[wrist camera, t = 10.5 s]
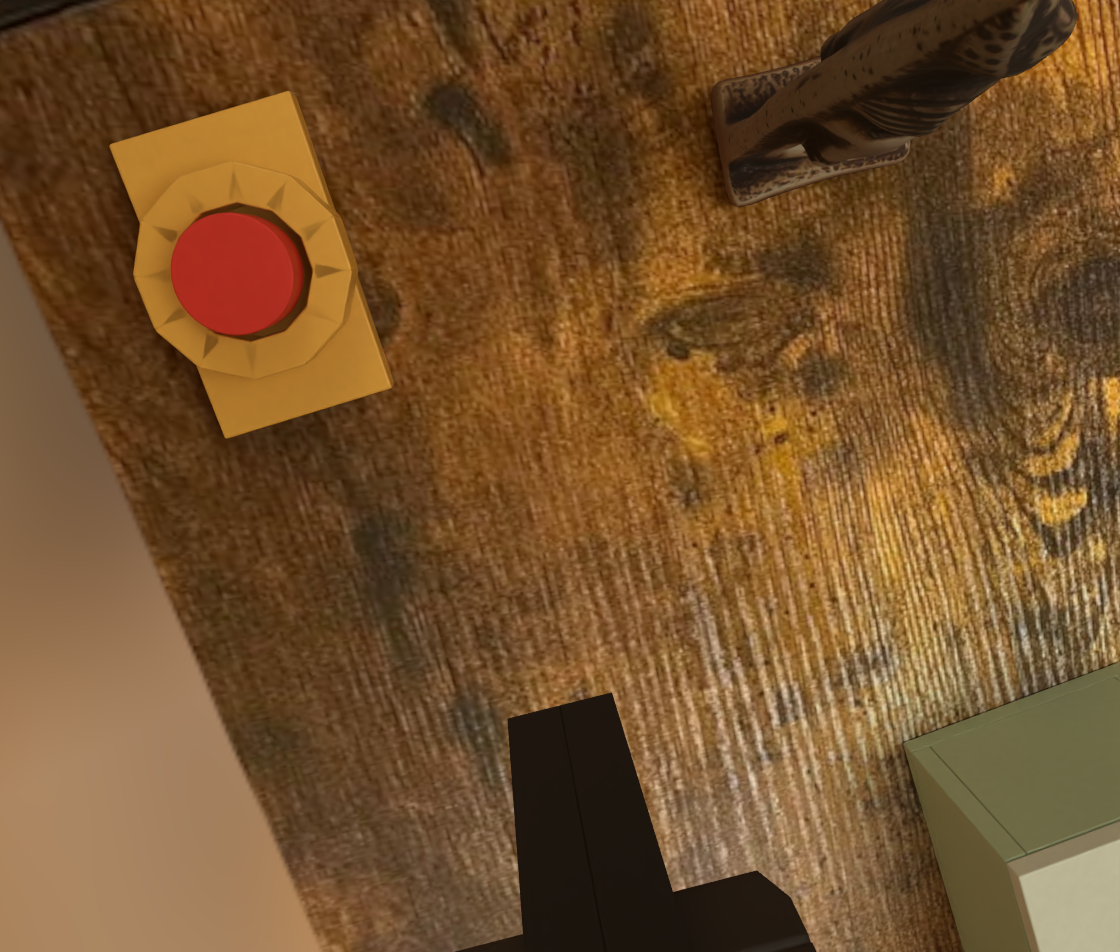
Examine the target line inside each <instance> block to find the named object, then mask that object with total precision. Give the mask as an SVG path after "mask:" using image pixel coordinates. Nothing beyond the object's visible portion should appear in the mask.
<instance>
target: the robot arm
mask: <svg viewBox="0 0 1120 952" xmlns="http://www.w3.org/2000/svg"><path fill="white" fill-rule="evenodd" d="M508 733H509V746H510V760H511V774H512V788H513V801H514V815H515V829H516V843H517V857H518V870H519V884H520V898H521V912H522V926H523V934H522V935H518V936H514V937H510V938H506V939H502V940H499V941H495V942H491V943H487V944H483V945H479V946H475V947H471V948H468V949H464V950H460V951H456V952H816V950H815V947H814V945H813V943H811V942H810V939H809V935H808V933H807V931H806V929H805V927H804V925H803V923H802V921H801V918H800V916H799V914H798V912H797V910H796V908H795V906H794V904H793V902H792V900H791V898H790V897H789V896H788V895H787V894H786V893H784V892H783V891H782V890H781V889H779V888H778V887H777V886H776V885H774V884H773V883H772V882H771V881H769V880H768V879H767V878H766V877H764V876H763V875H762V874H761V873H759V872H758V871H753V872H749V873H745V874H741V875H737V876H733V877H730V878H726V879H722V880H718V881H714V882H710V883H706V884H702V885H699V886H695V887H691V888H687V889H683V890H679V891H675V892H673V891H672V887H671V884H670V881H669V878H668V874H667V871H666V868H665V865H664V861H663V858H662V855H661V852H660V848H659V845H658V842H657V838H656V835H655V832H654V829H653V825H652V822H651V819H650V816H649V812H648V809H647V806H646V803H645V799H644V796H643V793H642V789H641V786H640V783H639V780H638V776H637V773H636V770H635V767H634V763H633V760H632V757H631V754H630V750H629V747H628V744H627V740H626V737H625V734H624V731H623V727H622V724H621V721H620V718H619V714H618V711H617V708H616V705H615V701H614V698H613V695H612V693H608V694H604V695H600V696H596V697H592V698H588V699H584V700H580V701H576V702H572V703H568V704H564V705H560V706H556V707H552V708H548V709H544V710H540V711H536V712H532V713H528V714H524V715H520V716H516V717H512V718H508Z"/></svg>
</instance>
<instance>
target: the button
mask: <svg viewBox="0 0 1120 952" xmlns="http://www.w3.org/2000/svg"><path fill="white" fill-rule="evenodd" d="M170 269H171V280H172V285H173V288H174V291H175V294H176V296H177V298H178V300H179V302H180V303H181V305H182V306H183V308H184V309H185V310H186V311H187V313H188V314H189V315H190V316H191V317H192V318H193V319H195V320H196V321H197V322H199V323H200V324H201V325H203V326H205V327H206V328H208V329H211V330H213V331H215V332H219V333H222V334H227V335H248V334H252V333H256V332H258V331H261V330H264V329H266V328H268V327H271V326H273V325H275V324H277V323H278V322H280V321H281V320H283V319H284V318H285V317H286V316H287V315H288V314H289V313H290V312H291V311H292V310H293V308H294V307H295V305H296V304H297V302H298V300H299V297H300V295H301V292H302V288H303V280H304V275H303V265H302V261H301V258H300V255H299V253H298V250H297V248H296V247H295V245H294V243H293V242H292V240H291V239H290V238H289V236H288V235H287V234H286V233H285V232H284V231H283V230H282V229H280V228H279V227H278V226H277V225H275V224H273V223H272V222H270V221H268V220H266V219H264V218H261V217H258V216H255V215H249V214H241V213H230V212H225V213H216V214H212V215H209V216H206V217H203V218H201V219H200V220H198V221H196V222H195V223H193V224H192V225H191V226H189V227H188V228H187V229H186V230H185V231H184V233H183V234H182V235H181V237H180V238H179V240H178V242H177V243H176V245H175V248H174V251H173V254H172V259H171V268H170Z"/></svg>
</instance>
